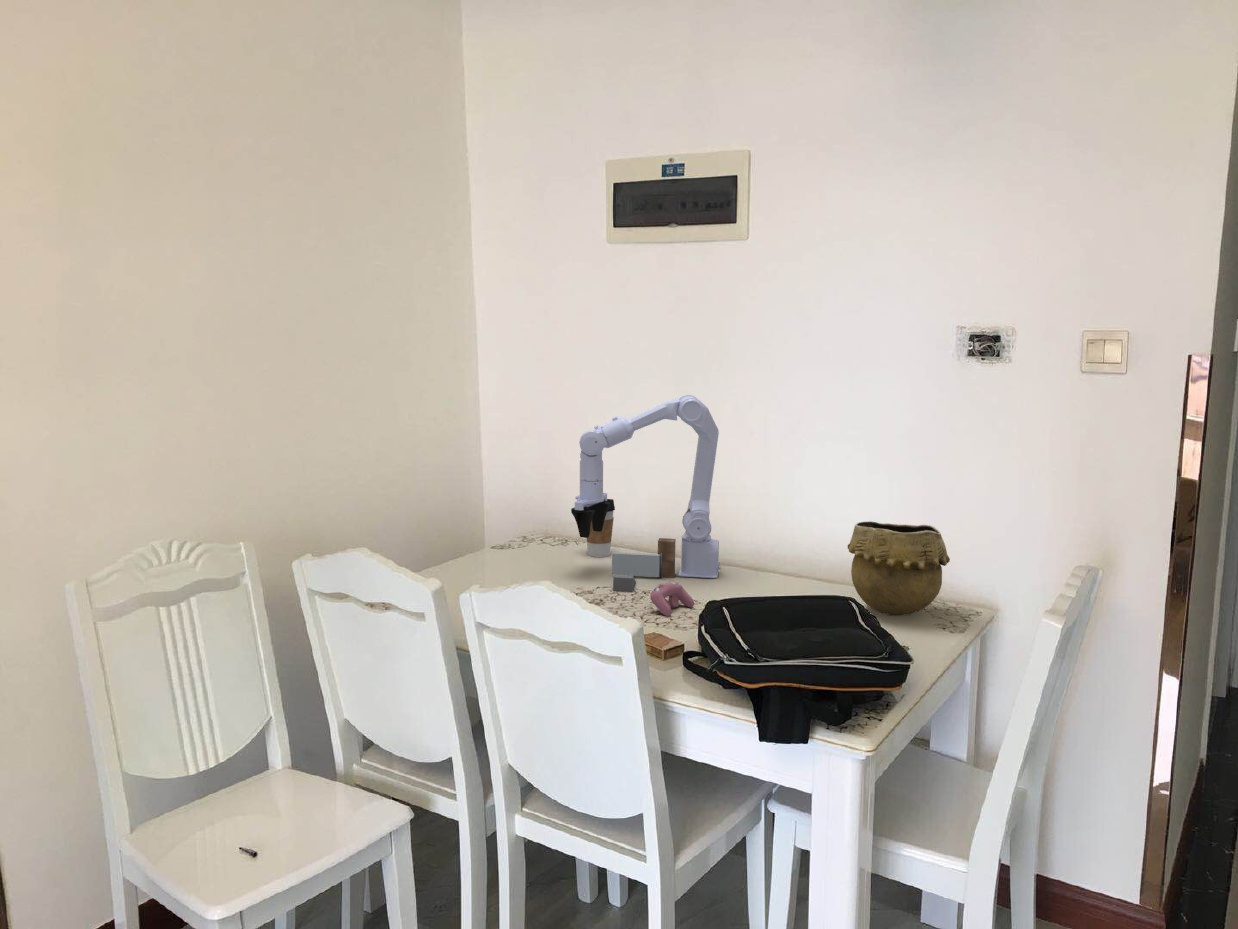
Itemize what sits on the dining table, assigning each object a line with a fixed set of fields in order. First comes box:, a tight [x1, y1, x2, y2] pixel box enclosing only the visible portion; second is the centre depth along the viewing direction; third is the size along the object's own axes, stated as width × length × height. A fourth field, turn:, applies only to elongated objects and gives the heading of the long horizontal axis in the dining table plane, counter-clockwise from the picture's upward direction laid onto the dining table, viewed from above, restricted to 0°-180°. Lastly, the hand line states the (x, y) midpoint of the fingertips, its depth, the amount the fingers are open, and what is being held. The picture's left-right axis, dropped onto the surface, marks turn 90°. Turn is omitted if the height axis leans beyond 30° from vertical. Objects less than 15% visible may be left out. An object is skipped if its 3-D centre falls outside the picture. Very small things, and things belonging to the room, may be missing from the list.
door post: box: [657, 537, 677, 579], centre depth 236 cm, size 4×5×9 cm
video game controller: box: [649, 581, 695, 617], centre depth 209 cm, size 10×5×7 cm, turn 141°
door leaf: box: [611, 551, 660, 578], centre depth 235 cm, size 12×2×5 cm, turn 81°
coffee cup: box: [586, 498, 616, 558], centre depth 257 cm, size 8×8×15 cm
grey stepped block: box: [612, 574, 637, 593], centre depth 226 cm, size 4×7×4 cm, turn 172°
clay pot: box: [847, 520, 951, 617], centre depth 207 cm, size 21×21×20 cm
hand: (591, 534), depth 237 cm, fingers open, 7 cm apart
